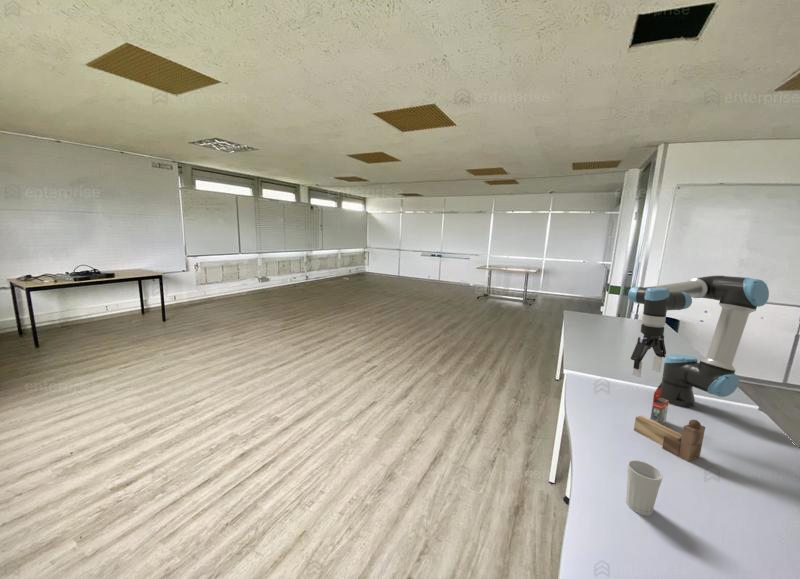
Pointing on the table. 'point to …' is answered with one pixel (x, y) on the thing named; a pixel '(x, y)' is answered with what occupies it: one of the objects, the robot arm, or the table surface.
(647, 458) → the table surface
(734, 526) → the table surface
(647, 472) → the cup
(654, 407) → the ink box
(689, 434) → the brown domed block
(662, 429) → the rail
